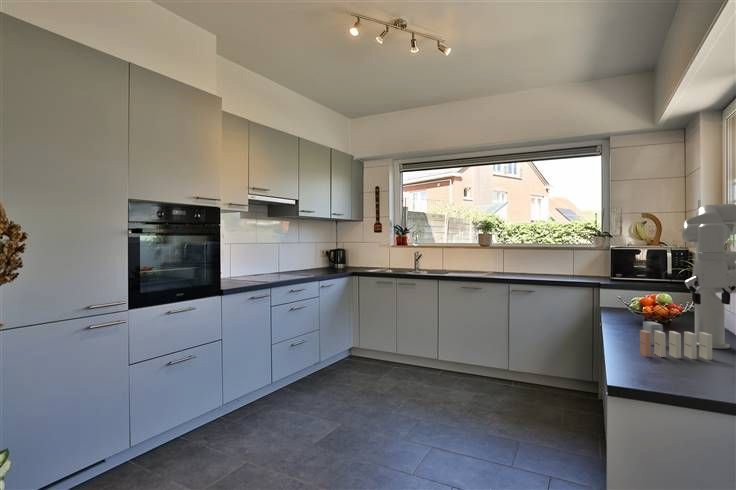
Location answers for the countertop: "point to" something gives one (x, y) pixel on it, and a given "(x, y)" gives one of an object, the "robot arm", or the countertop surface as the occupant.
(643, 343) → the domino
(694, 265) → the robot arm
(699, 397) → the countertop surface
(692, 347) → the domino
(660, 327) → the medicine box
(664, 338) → the domino
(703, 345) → the domino
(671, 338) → the domino
